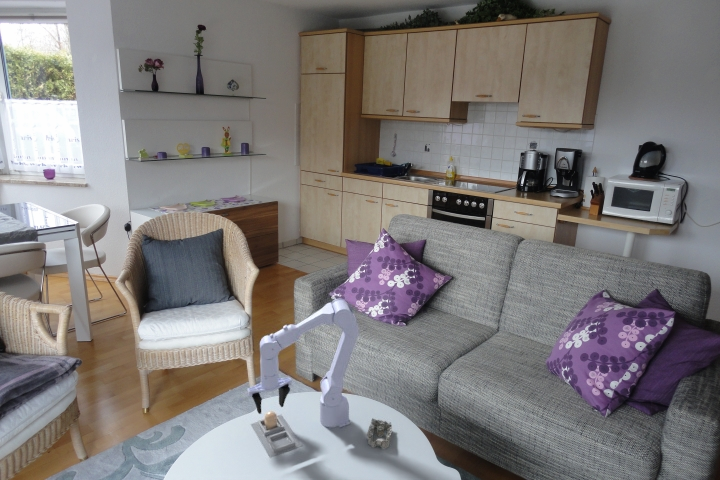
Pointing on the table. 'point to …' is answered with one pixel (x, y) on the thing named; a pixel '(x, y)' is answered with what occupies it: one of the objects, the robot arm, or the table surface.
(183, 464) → the table surface
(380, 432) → the grey stone ruin model
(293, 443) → the egg stand
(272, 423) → the egg
